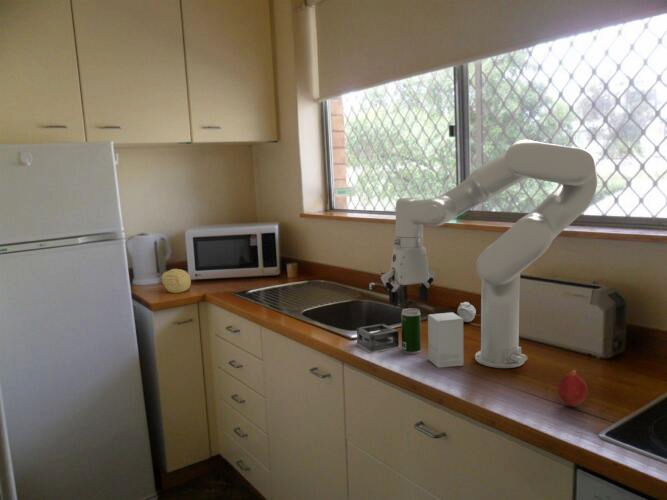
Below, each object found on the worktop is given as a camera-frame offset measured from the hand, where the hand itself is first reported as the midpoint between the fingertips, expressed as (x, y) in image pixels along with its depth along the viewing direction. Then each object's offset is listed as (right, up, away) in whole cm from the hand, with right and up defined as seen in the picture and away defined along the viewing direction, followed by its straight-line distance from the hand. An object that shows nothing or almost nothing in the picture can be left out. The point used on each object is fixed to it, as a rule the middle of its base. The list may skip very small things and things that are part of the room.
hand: (408, 302), depth 150 cm
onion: (+29, -19, -37) cm, 51 cm away
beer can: (+1, -14, +2) cm, 14 cm away
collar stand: (-8, -13, +7) cm, 17 cm away
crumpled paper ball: (+24, -10, +29) cm, 39 cm away
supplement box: (+9, -15, -8) cm, 19 cm away
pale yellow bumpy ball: (-93, -4, +95) cm, 133 cm away
